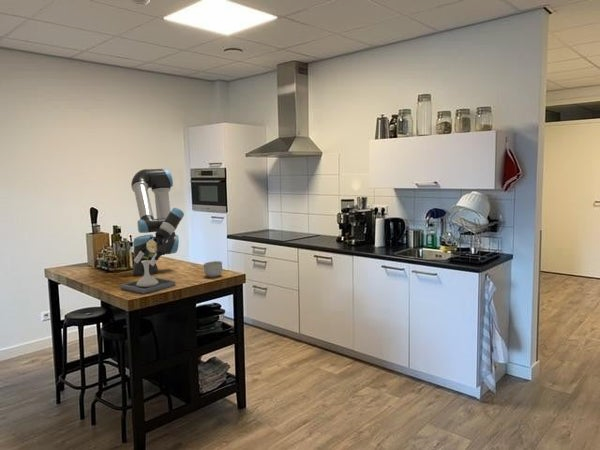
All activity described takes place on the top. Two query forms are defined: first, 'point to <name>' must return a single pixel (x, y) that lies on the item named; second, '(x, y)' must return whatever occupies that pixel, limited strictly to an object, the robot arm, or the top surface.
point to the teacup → (213, 268)
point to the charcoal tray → (144, 290)
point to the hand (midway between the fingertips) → (143, 263)
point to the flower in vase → (147, 278)
